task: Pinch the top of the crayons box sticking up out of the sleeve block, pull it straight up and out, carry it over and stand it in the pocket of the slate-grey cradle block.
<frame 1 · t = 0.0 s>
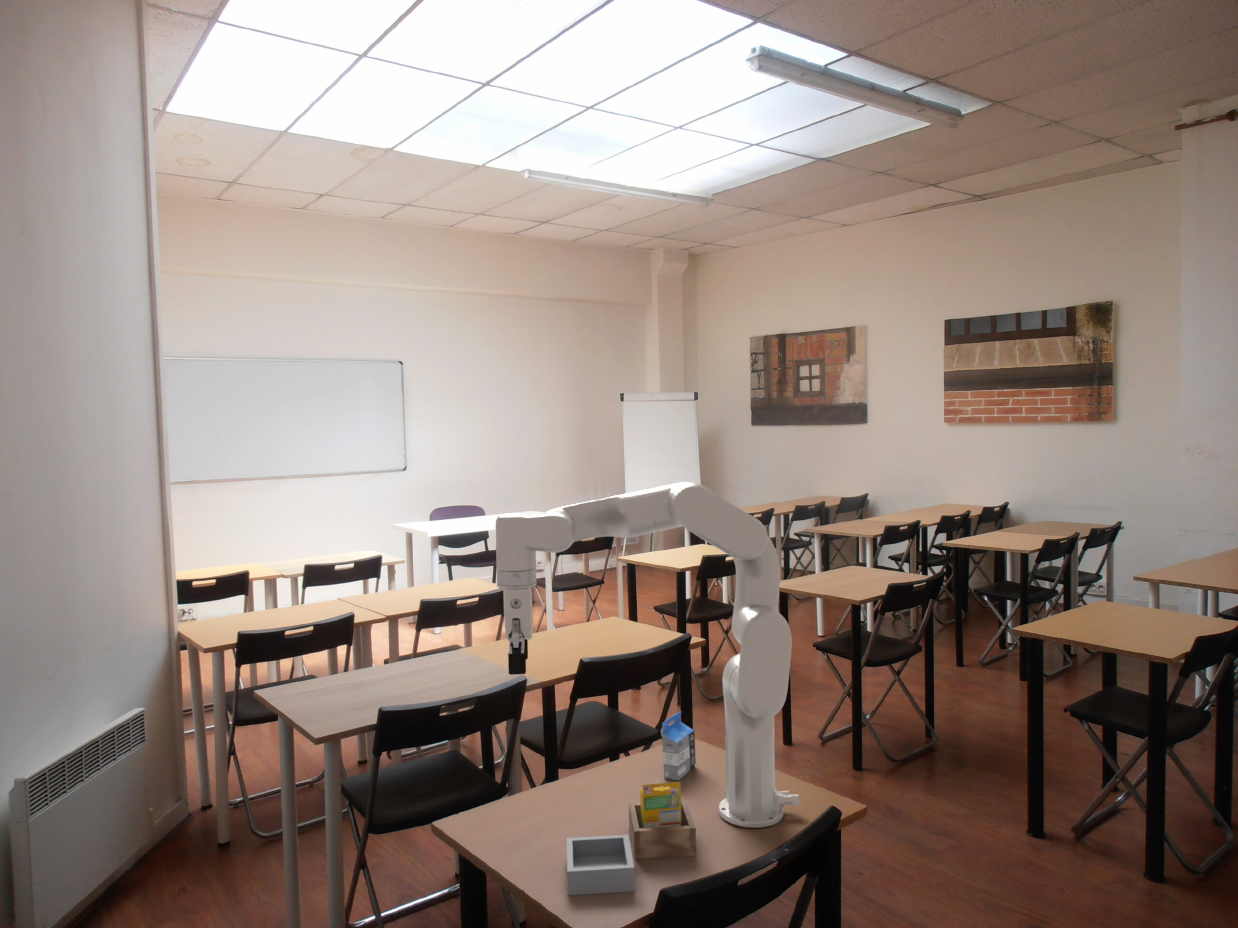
hand: (518, 666, 154), 31 cm above the table, tool pointing down, fingers open, 9 cm apart
label tape box: (679, 773, 178), on the table
crayon box: (661, 842, 148), resting in sleeve block
sleeve block: (661, 841, 148), on the table
cradle block: (599, 874, 137), on the table
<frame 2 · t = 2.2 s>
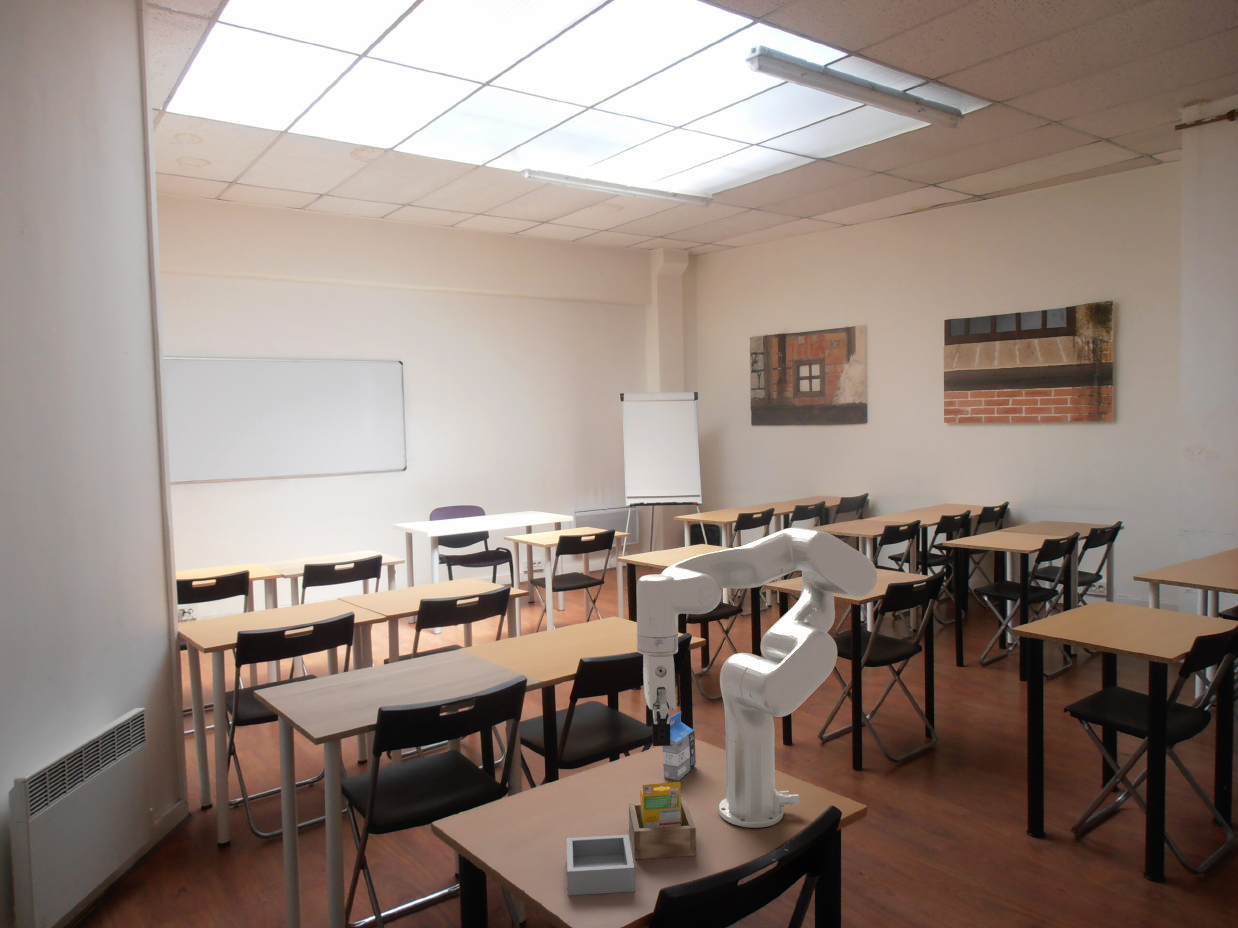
hand: (657, 735, 147), 20 cm above the table, tool pointing down, fingers open, 9 cm apart
nothing on the table moved.
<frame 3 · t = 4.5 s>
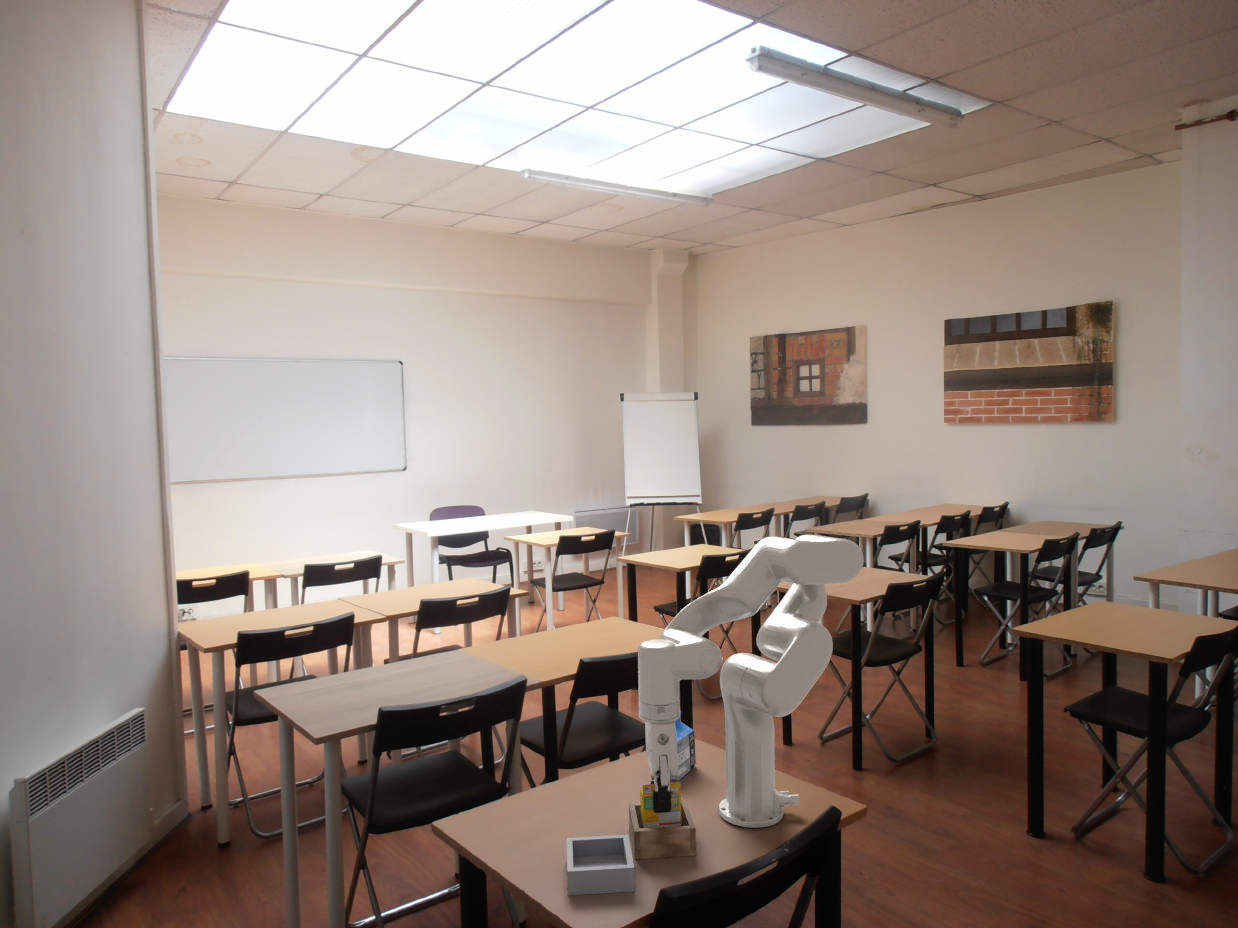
hand: (660, 805, 148), 7 cm above the table, tool pointing down, fingers closed on crayon box, 3 cm apart
crayon box: (661, 842, 148), resting in sleeve block, touching gripper
everything else where it was.
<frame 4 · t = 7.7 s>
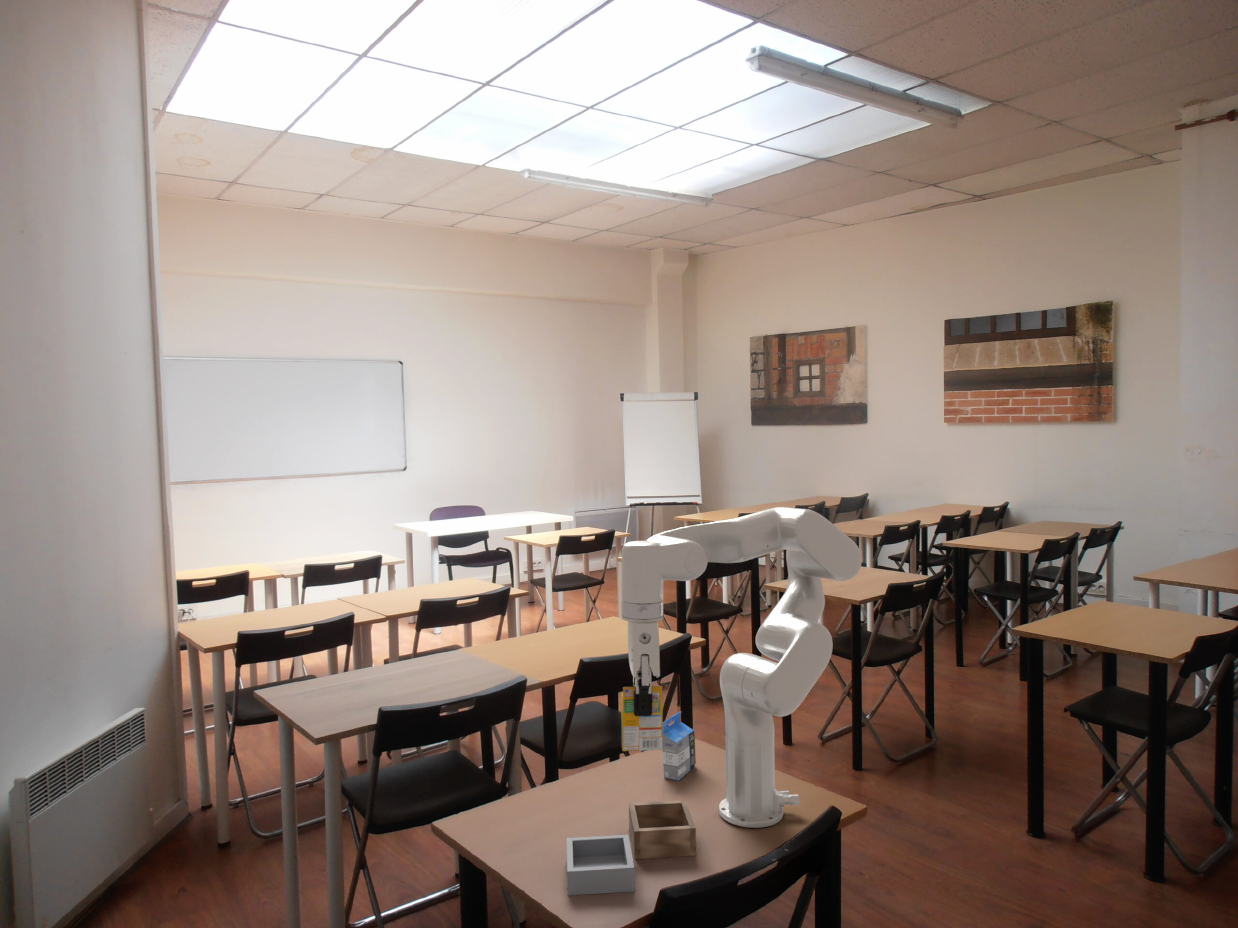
hand: (641, 710, 144), 26 cm above the table, tool pointing down, fingers closed on crayon box, 3 cm apart
crayon box: (641, 748, 144), point 19 cm above the table, touching gripper
everything else where it was.
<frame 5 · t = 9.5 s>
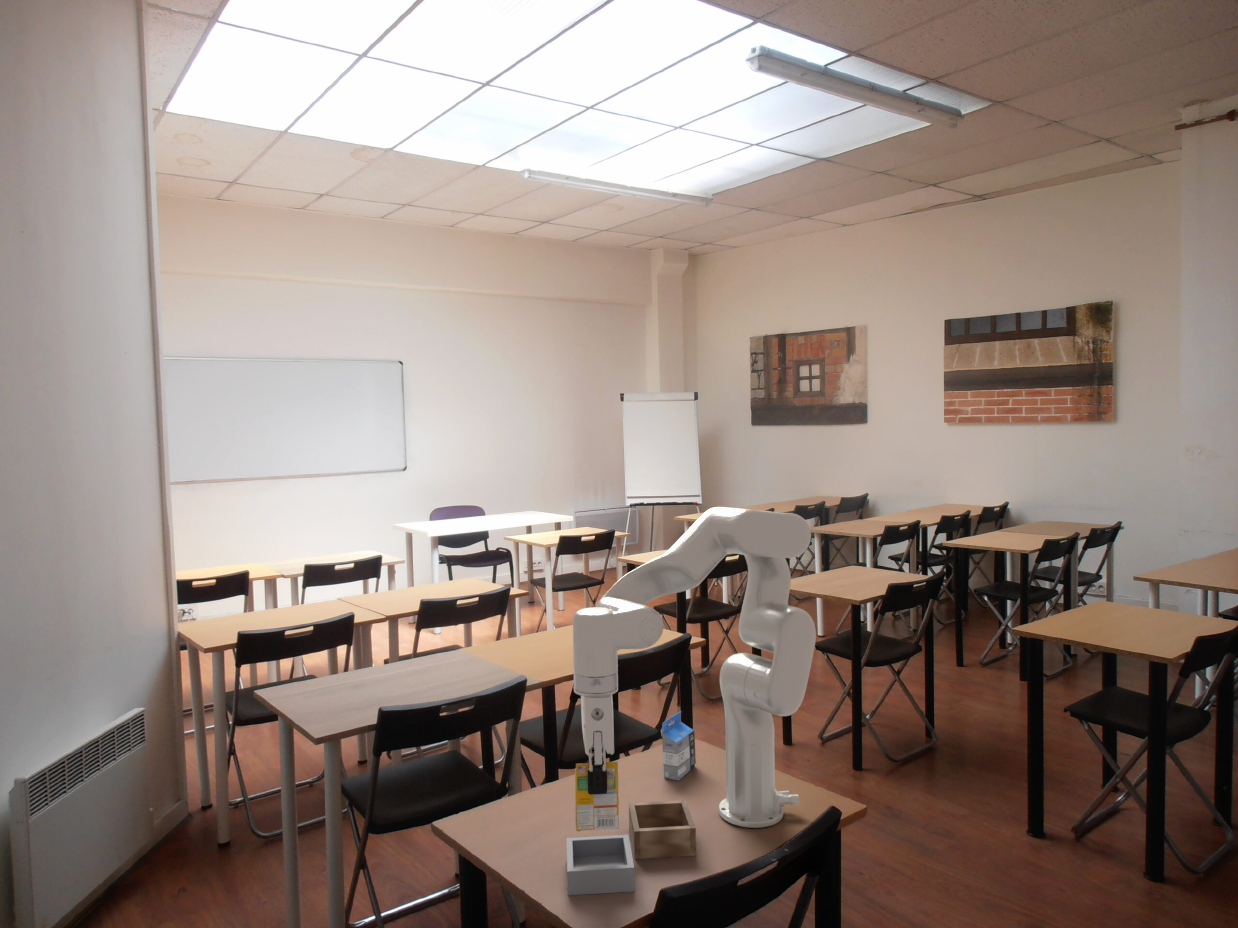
hand: (596, 787, 136), 15 cm above the table, tool pointing down, fingers closed on crayon box, 3 cm apart
crayon box: (597, 827, 137), point 8 cm above the table, touching gripper
everything else where it was.
when the fingers open (9 cm above the table, at t = 11.0 s): crayon box drops 1 cm, resting on cradle block.
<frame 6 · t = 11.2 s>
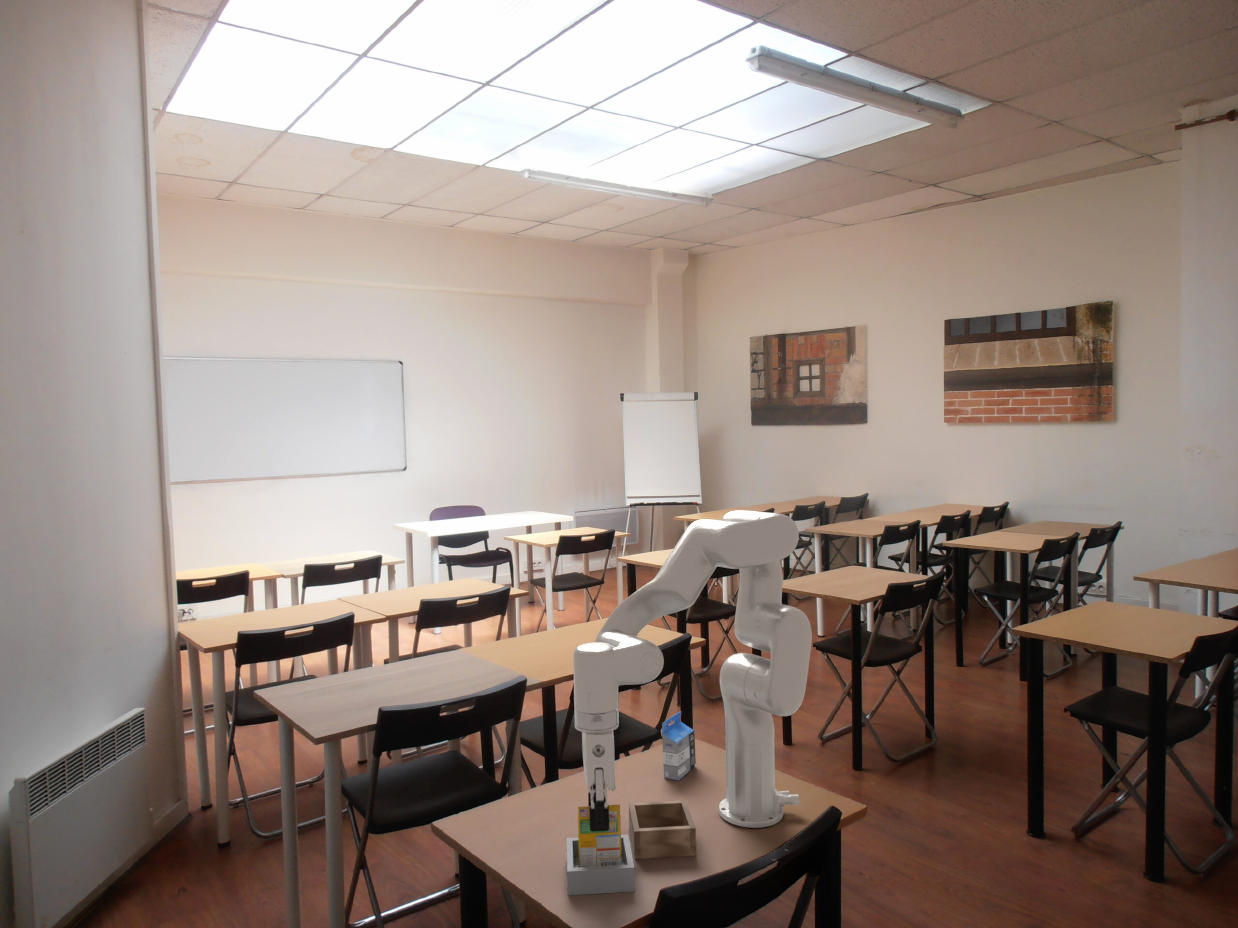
hand: (598, 821, 137), 9 cm above the table, tool pointing down, fingers open, 4 cm apart
crayon box: (600, 869, 137), point 1 cm above the table, touching cradle block
everything else where it was.
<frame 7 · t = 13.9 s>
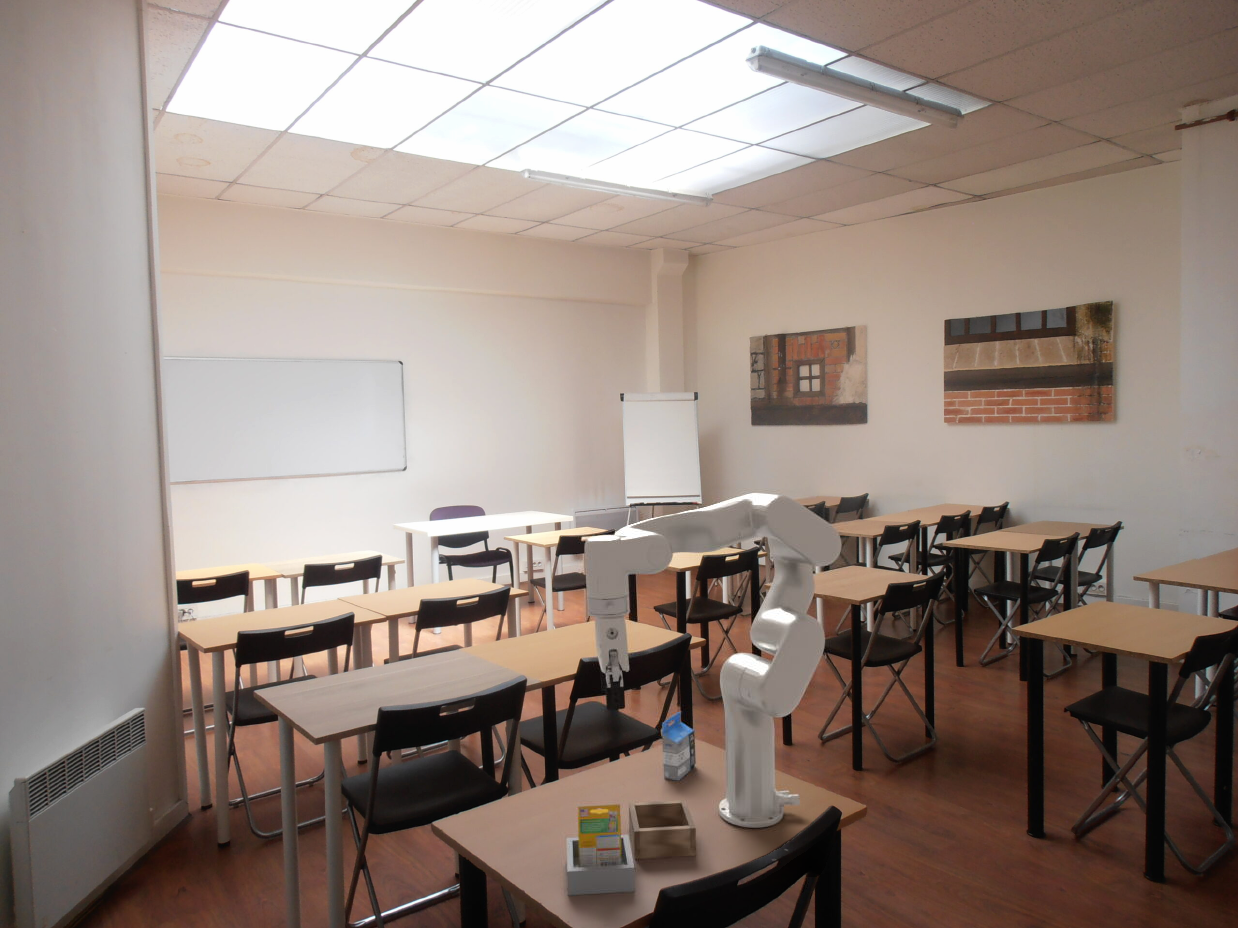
hand: (613, 699, 143), 28 cm above the table, tool pointing down, fingers open, 9 cm apart
nothing on the table moved.
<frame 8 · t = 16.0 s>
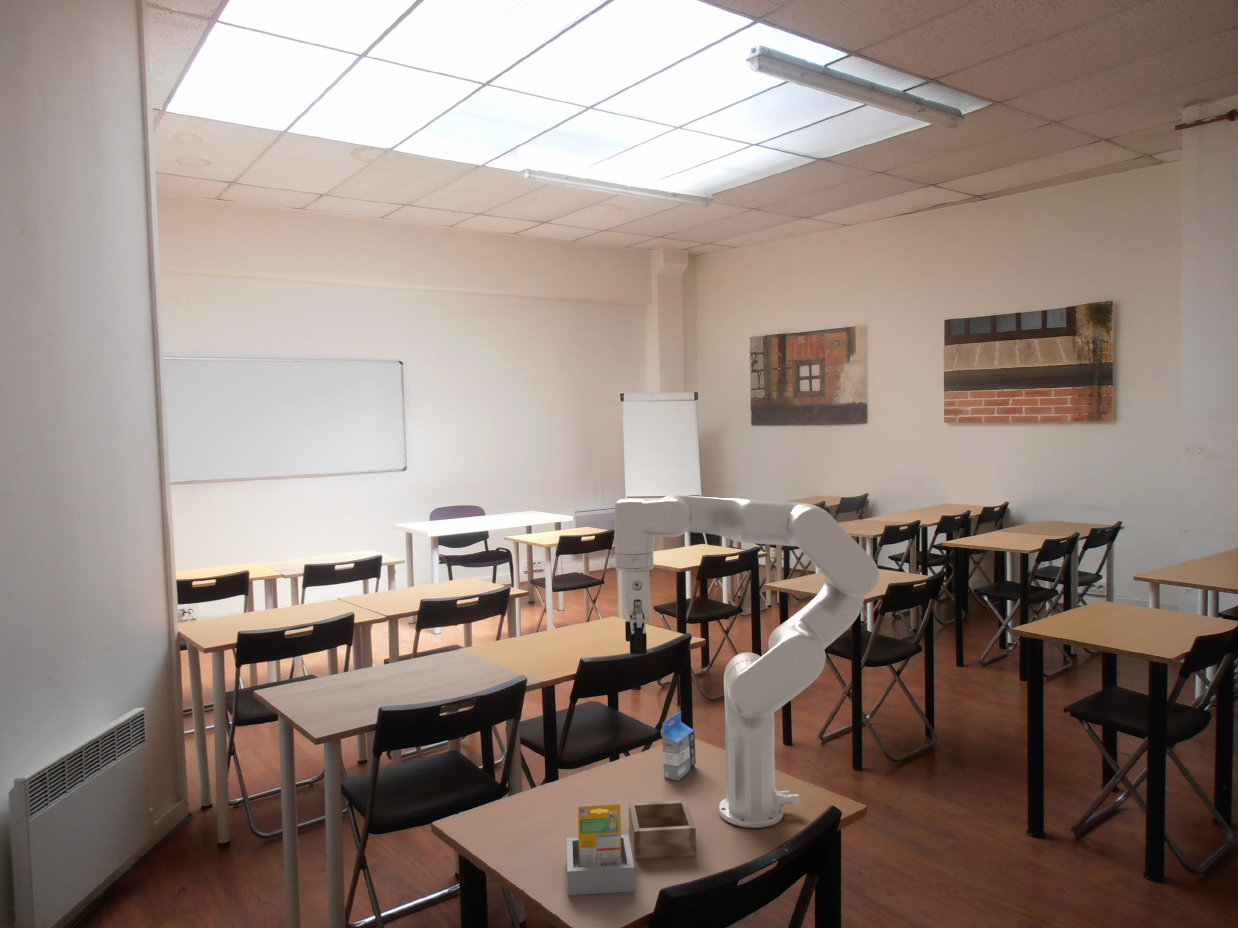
hand: (635, 646, 159), 33 cm above the table, tool pointing down, fingers open, 9 cm apart
nothing on the table moved.
at the end: crayon box 0.4 cm off-centre on the cradle block, point 0.8 cm above the cradle block's base; crayon box tilted 0°; the gripper is holding nothing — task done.
